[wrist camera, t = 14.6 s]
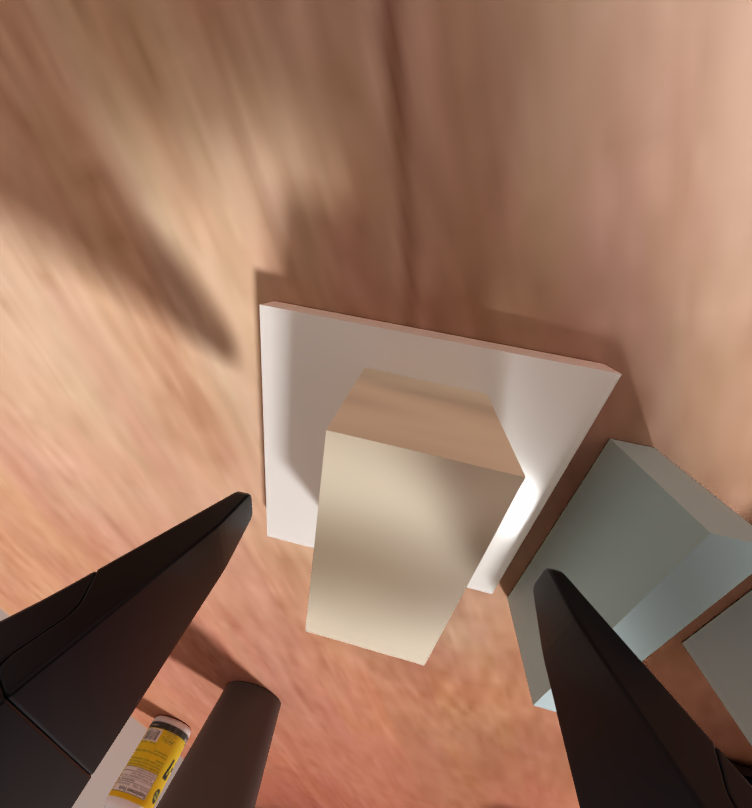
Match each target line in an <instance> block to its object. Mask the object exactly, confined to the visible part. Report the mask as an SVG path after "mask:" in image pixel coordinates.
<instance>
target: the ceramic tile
mask: <svg viewBox="0 0 752 808" xmlns="http://www.w3.org/2000/svg"><path fill="white" fill-rule="evenodd" d="M260 334H261V363H262V393H263V422H264V451H265V480H266V509H267V536H269V537H273V538H277V539H281V540H285V541H289V542H293V543H296V544H300V545H304V546H308V547H312V548H314V543H315V533H316V524H317V514H318V504H319V494H320V485H321V475H322V465H323V456H324V446H325V436H326V429H327V428H328V426H329V425H330V423H331V421H332V420H333V418H334V417H335V415H336V413H337V412H338V410H339V408H340V407H341V405H342V404H343V402H344V400H345V399H346V397H347V396H348V394H349V392H350V391H351V389H352V388H353V386H354V384H355V383H356V381H357V379H358V378H359V376H360V375H361V373H362V371H363V370H364V368H370V369H374V370H379V371H383V372H388V373H393V374H397V375H402V376H406V377H411V378H415V379H420V380H425V381H429V382H434V383H438V384H443V385H447V386H452V387H457V388H461V389H466V390H470V391H475V392H479V393H484V394H487V395H488V398H489V400H490V402H491V404H492V406H493V408H494V410H495V413H496V415H497V417H498V419H499V421H500V423H501V425H502V427H503V430H504V432H505V434H506V436H507V438H508V440H509V442H510V445H511V447H512V449H513V451H514V453H515V455H516V457H517V460H518V462H519V464H520V466H521V468H522V470H523V472H524V474H525V477H526V478H525V480H524V482H523V483H522V485H521V487H520V489H519V491H518V493H517V495H516V496H515V498H514V500H513V502H512V504H511V506H510V508H509V509H508V511H507V513H506V515H505V517H504V519H503V521H502V522H501V524H500V526H499V528H498V530H497V532H496V534H495V535H494V537H493V539H492V541H491V543H490V545H489V546H488V548H487V550H486V552H485V554H484V556H483V558H482V559H481V561H480V563H479V565H478V567H477V569H476V571H475V572H474V574H473V576H472V578H471V580H470V582H469V584H468V585H467V588H471V589H475V590H479V591H482V592H486V593H490V594H492V593H493V591H494V589H495V588H496V586H497V584H498V583H499V581H500V579H501V578H502V576H503V574H504V573H505V571H506V569H507V568H508V566H509V564H510V562H511V561H512V559H513V557H514V556H515V554H516V552H517V551H518V549H519V547H520V546H521V544H522V542H523V541H524V539H525V537H526V535H527V534H528V532H529V530H530V529H531V527H532V525H533V524H534V522H535V520H536V519H537V517H538V515H539V513H540V512H541V510H542V508H543V507H544V505H545V503H546V502H547V500H548V498H549V497H550V495H551V493H552V492H553V490H554V488H555V486H556V485H557V483H558V481H559V480H560V478H561V476H562V475H563V473H564V471H565V470H566V468H567V466H568V465H569V463H570V461H571V459H572V458H573V456H574V454H575V453H576V451H577V449H578V448H579V446H580V444H581V443H582V441H583V439H584V437H585V436H586V434H587V432H588V431H589V429H590V427H591V426H592V424H593V422H594V421H595V419H596V417H597V416H598V414H599V412H600V410H601V409H602V407H603V405H604V404H605V402H606V400H607V399H608V397H609V395H610V394H611V392H612V390H613V389H614V387H615V385H616V383H617V382H618V380H619V378H620V377H621V375H622V374H621V373H619V372H617V371H615V370H613V369H612V368H610V367H608V366H606V365H604V364H602V363H597V362H592V361H586V360H581V359H576V358H571V357H565V356H560V355H555V354H550V353H544V352H539V351H534V350H529V349H523V348H518V347H513V346H508V345H502V344H497V343H492V342H487V341H481V340H476V339H471V338H466V337H460V336H455V335H450V334H445V333H439V332H434V331H429V330H424V329H418V328H413V327H408V326H403V325H397V324H392V323H387V322H382V321H376V320H371V319H366V318H361V317H355V316H350V315H345V314H340V313H334V312H329V311H324V310H319V309H313V308H308V307H303V306H298V305H292V304H287V303H282V302H277V301H273V302H269V303H264V304H260Z"/></svg>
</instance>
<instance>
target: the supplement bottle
mask: <svg viewBox="0 0 752 808" xmlns="http://www.w3.org/2000/svg"><path fill="white" fill-rule="evenodd" d="M190 733H191V731H190V728H189V727H188V726H187V725H186V724H185V723H183V722H181V721H179V720H176V719H174V718H171V717H168V716H157V717H156V718H155V719H154V720H153V722H152V723H151V725H150V727H149V728H148V730H147V732H146V734H145V735H144V737H143V739H142V740H141V742H140V744H139V745H138V747H137V748H136V750H135V752H134V754H133V755H132V757H131V759H130V760H129V762H128V764H127V765H126V767H125V769H124V770H123V772H122V773H121V775H120V777H119V778H118V780H117V782H116V783H115V785H114V787H113V789H112V790H111V792H110V793H109V795H108V797H107V799H106V801H105V804H104V808H153V807H154V805H155V804H156V801H157V799H158V797H159V795H160V793H161V791H162V789H163V787H164V785H165V783H166V781H167V780H168V778H169V775H170V773H171V772H172V770H173V768H174V766H175V764H176V761H177V760H178V758H179V756H180V754H181V752H182V750H183V748H184V746H185V744H186V742H187V740H188V738H189V736H190Z"/></svg>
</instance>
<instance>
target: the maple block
mask: <svg viewBox="0 0 752 808" xmlns="http://www.w3.org/2000/svg"><path fill="white" fill-rule="evenodd" d="M525 478H526V477H525V474H524V472H523V470H522V468H521V466H520V464H519V462H518V460H517V457H516V455H515V453H514V451H513V449H512V447H511V445H510V442H509V440H508V438H507V436H506V434H505V432H504V430H503V427H502V425H501V423H500V421H499V419H498V417H497V415H496V413H495V410H494V408H493V406H492V404H491V402H490V400H489V398H488V395H487V394H484V393H479V392H475V391H470V390H466V389H461V388H457V387H452V386H447V385H443V384H438V383H434V382H429V381H425V380H420V379H415V378H411V377H406V376H402V375H397V374H393V373H388V372H383V371H379V370H374V369H370V368H364V370H363V371H362V373H361V375H360V376H359V378H358V379H357V381H356V383H355V384H354V386H353V388H352V389H351V391H350V392H349V394H348V396H347V397H346V399H345V400H344V402H343V404H342V405H341V407H340V408H339V410H338V412H337V413H336V415H335V417H334V418H333V420H332V421H331V423H330V425H329V426H328V428H327V429H326V436H325V446H324V456H323V465H322V475H321V485H320V494H319V504H318V514H317V524H316V533H315V543H314V553H313V562H312V572H311V582H310V591H309V601H308V611H307V621H306V630H305V631H307V632H311V633H314V634H317V635H321V636H324V637H328V638H331V639H335V640H338V641H342V642H345V643H348V644H352V645H355V646H359V647H362V648H366V649H369V650H373V651H376V652H380V653H383V654H386V655H390V656H393V657H397V658H400V659H404V660H407V661H411V662H414V663H417V664H421V665H425V663H426V661H427V660H428V658H429V656H430V654H431V652H432V650H433V648H434V647H435V645H436V643H437V641H438V639H439V637H440V635H441V634H442V632H443V630H444V628H445V626H446V624H447V622H448V621H449V619H450V617H451V615H452V613H453V611H454V609H455V608H456V606H457V604H458V602H459V600H460V598H461V597H462V595H463V593H464V591H465V589H466V587H467V585H468V584H469V582H470V580H471V578H472V576H473V574H474V572H475V571H476V569H477V567H478V565H479V563H480V561H481V559H482V558H483V556H484V554H485V552H486V550H487V548H488V546H489V545H490V543H491V541H492V539H493V537H494V535H495V534H496V532H497V530H498V528H499V526H500V524H501V522H502V521H503V519H504V517H505V515H506V513H507V511H508V509H509V508H510V506H511V504H512V502H513V500H514V498H515V496H516V495H517V493H518V491H519V489H520V487H521V485H522V483H523V482H524V480H525Z"/></svg>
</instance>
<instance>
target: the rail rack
mask: <svg viewBox="0 0 752 808" xmlns="http://www.w3.org/2000/svg"><path fill="white" fill-rule="evenodd" d="M546 568H550V569H554V570H558V571H561V572H562V573H564V574H565V575H566V576H567V578H568V579H569V580H570V581H571V582H572V583H573V584H574V586H575V587H576V588H577V589H578V590H579V591H580V592H581V593H582V595H583V596H584V597H585V598H586V599H587V600H588V601H589V603H590V604H591V605H592V606H593V607H594V608H595V609H596V610H597V612H598V613H599V614H600V615H601V616H602V617H603V618H604V620H605V621H606V622H607V623H608V624H609V625H610V626H611V627H612V629H613V630H614V631H615V632H616V633H617V634H618V635H619V637H620V638H621V639H622V640H623V641H624V642H625V643H626V644H627V646H628V647H629V648H630V649H631V650H632V651H633V652H634V654H635V655H636V656H637V657H638V658H639V659H640V660H641V662H642V661H643V660H644V659H646V658H647V657H648V656H649V655H651V654H652V653H653V652H655V651H656V650H657V649H658V648H660V647H661V646H662V645H663V644H665V643H666V642H667V641H668V640H670V639H671V638H672V637H673V636H675V635H676V634H677V633H678V632H680V631H681V630H682V629H683V628H685V627H686V626H687V625H688V624H690V623H691V622H692V621H693V620H695V619H696V618H697V617H698V616H700V615H701V614H702V613H703V612H705V611H706V610H707V609H708V608H710V607H711V606H712V605H713V604H715V603H716V602H717V601H718V600H720V599H721V598H722V597H723V596H725V595H726V594H727V593H728V592H730V591H731V590H732V589H733V588H735V587H736V586H737V585H738V584H740V583H741V582H742V581H743V580H745V579H746V578H747V577H748V576H750V575H751V574H752V525H751V524H750V523H748V522H747V521H746V520H745V519H743V518H742V517H741V516H740V515H738V514H737V513H736V512H735V511H733V510H732V509H731V508H729V507H728V506H727V505H726V504H724V503H723V502H722V501H721V500H719V499H718V498H717V497H716V496H714V495H713V494H712V493H711V492H709V491H708V490H707V489H706V488H704V487H703V486H702V485H701V484H699V483H698V482H697V481H696V480H694V479H693V478H692V477H691V476H689V475H688V474H687V473H686V472H684V471H683V470H682V469H680V468H679V467H678V466H677V465H675V464H674V463H673V462H672V461H670V460H669V459H668V458H667V457H665V456H664V455H663V454H662V453H660V452H659V451H658V450H657V449H655V448H653V447H648V446H643V445H638V444H634V443H629V442H624V441H619V440H615V439H609V441H608V443H607V444H606V446H605V447H604V449H603V450H602V452H601V453H600V455H599V457H598V458H597V460H596V461H595V463H594V464H593V466H592V467H591V469H590V471H589V472H588V474H587V475H586V477H585V478H584V480H583V481H582V483H581V485H580V486H579V488H578V489H577V491H576V492H575V494H574V495H573V497H572V499H571V500H570V502H569V503H568V505H567V506H566V508H565V509H564V511H563V512H562V514H561V516H560V517H559V519H558V520H557V522H556V523H555V525H554V526H553V528H552V530H551V531H550V533H549V534H548V536H547V537H546V539H545V540H544V542H543V544H542V545H541V547H540V548H539V550H538V551H537V553H536V554H535V556H534V558H533V559H532V561H531V562H530V564H529V565H528V567H527V568H526V570H525V572H524V573H523V575H522V576H521V578H520V579H519V581H518V582H517V584H516V586H515V587H514V589H513V590H512V592H511V593H510V595H509V596H508V598H507V599H508V603H509V607H510V611H511V615H512V619H513V624H514V628H515V632H516V636H517V640H518V644H519V648H520V653H521V657H522V661H523V665H524V669H525V673H526V677H527V681H528V686H529V690H530V694H531V698H532V702H533V705H534V706H537V707H541V708H544V709H548V710H551V711H555V712H556V707H555V703H554V699H553V695H552V691H551V687H550V683H549V679H548V675H547V671H546V667H545V662H544V658H543V653H542V647H541V641H540V635H539V628H538V621H537V615H536V608H535V601H534V595H533V586H534V583H535V582H536V580H537V579H538V577H539V576H540V574H541V573H542V572H543V570H544V569H546ZM682 644H683V646H684V647H685V648H686V650H687V651H688V653H689V654H690V656H691V657H692V659H693V660H694V662H695V663H696V665H697V666H698V668H699V669H700V671H701V672H702V674H703V675H704V677H705V678H706V680H707V681H708V682H709V684H710V685H711V687H712V688H713V690H714V691H715V693H716V694H717V696H718V697H719V699H720V700H721V702H722V703H723V705H724V706H725V708H726V709H727V711H728V712H729V714H730V715H731V716H732V718H733V719H734V721H735V722H736V724H737V725H738V727H739V728H740V730H741V731H742V733H743V734H744V736H745V737H746V739H747V740H748V742H749V743H750V745H751V746H752V590H751V591H750V592H748V593H747V594H746V595H744V596H743V597H742V598H741V599H739V600H738V601H737V602H735V603H734V604H733V605H731V606H730V607H729V608H727V609H726V610H725V611H723V612H722V613H721V614H720V615H718V616H717V617H716V618H714V619H713V620H712V621H710V622H709V623H708V624H706V625H705V626H704V627H703V628H701V629H700V630H699V631H697V632H696V633H695V634H693V635H692V636H691V637H689V638H688V639H687V640H686V641H684V642H683V643H682Z"/></svg>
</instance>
